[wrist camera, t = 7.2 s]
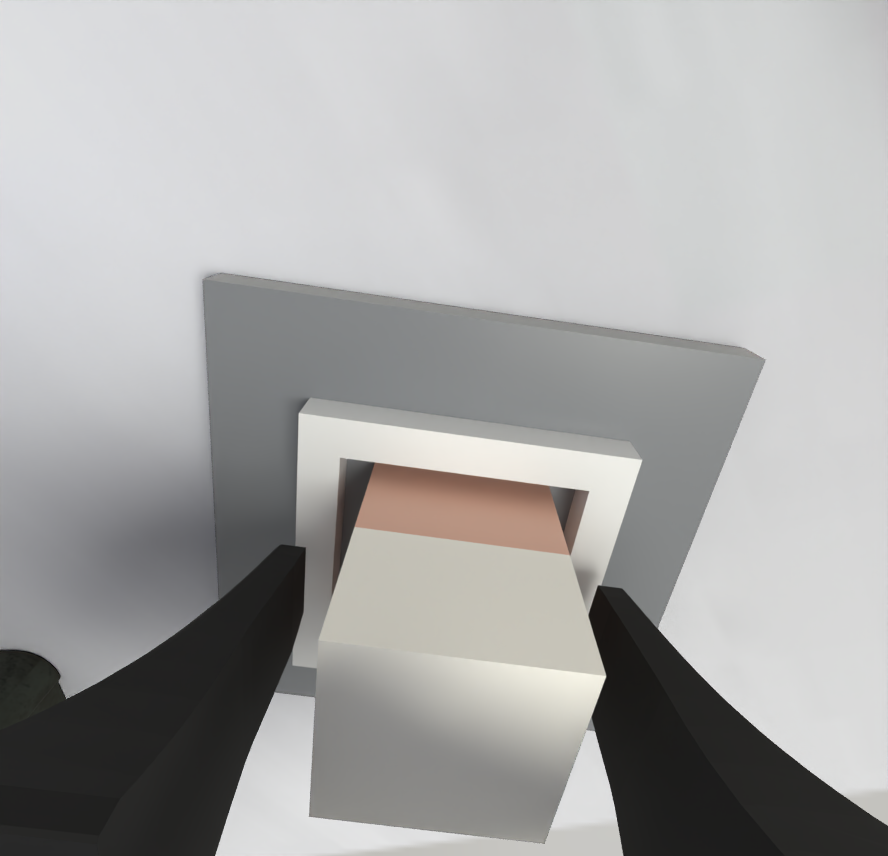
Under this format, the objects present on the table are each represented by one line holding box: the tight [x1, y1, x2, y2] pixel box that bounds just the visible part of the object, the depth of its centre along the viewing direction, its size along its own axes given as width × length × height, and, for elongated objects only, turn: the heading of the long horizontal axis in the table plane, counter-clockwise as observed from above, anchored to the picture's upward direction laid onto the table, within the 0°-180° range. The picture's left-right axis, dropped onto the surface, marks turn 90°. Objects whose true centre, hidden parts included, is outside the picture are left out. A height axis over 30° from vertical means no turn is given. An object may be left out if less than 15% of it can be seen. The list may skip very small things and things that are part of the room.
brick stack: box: [309, 462, 606, 844], centre depth 12 cm, size 4×4×6 cm
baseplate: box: [203, 273, 765, 731], centre depth 15 cm, size 13×13×2 cm
